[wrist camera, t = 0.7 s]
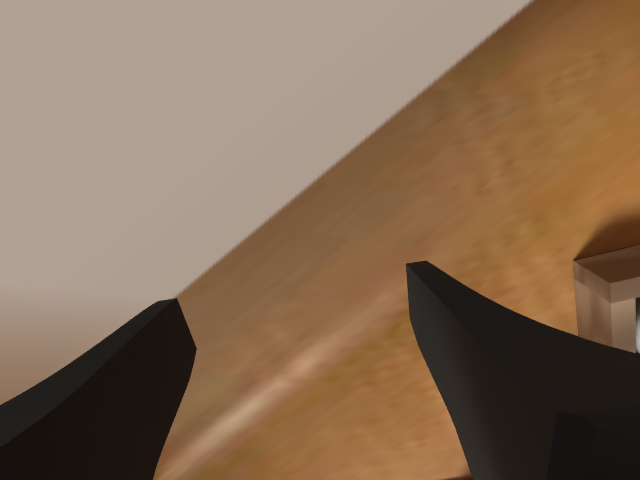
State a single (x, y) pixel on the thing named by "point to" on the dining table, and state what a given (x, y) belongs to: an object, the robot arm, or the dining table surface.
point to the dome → (637, 323)
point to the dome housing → (608, 297)
